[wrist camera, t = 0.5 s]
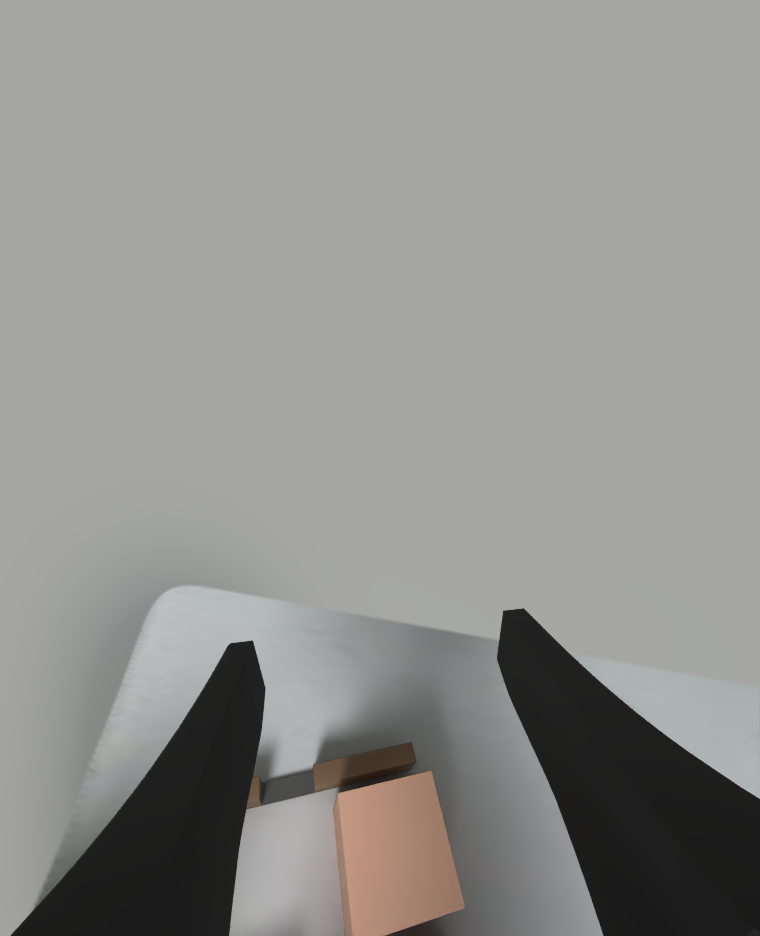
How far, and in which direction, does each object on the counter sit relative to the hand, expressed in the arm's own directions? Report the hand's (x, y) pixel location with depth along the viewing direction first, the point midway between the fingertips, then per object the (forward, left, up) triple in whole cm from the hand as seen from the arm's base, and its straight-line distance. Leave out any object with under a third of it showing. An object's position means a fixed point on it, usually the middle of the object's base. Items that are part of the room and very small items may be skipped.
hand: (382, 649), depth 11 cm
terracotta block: (-4, -2, -19) cm, 19 cm away
